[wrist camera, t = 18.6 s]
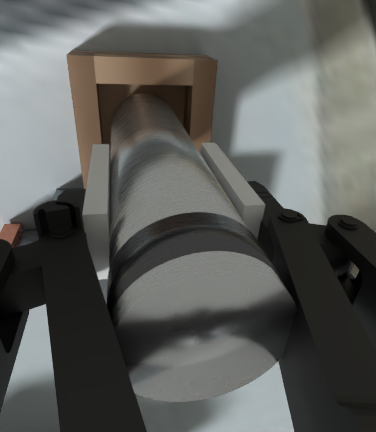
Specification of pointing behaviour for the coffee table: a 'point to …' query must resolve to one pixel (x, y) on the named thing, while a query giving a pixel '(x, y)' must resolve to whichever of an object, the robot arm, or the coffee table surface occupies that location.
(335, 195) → the coffee table surface
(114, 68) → the brown square tray
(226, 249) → the peg
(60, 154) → the coffee table surface
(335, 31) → the coffee table surface
